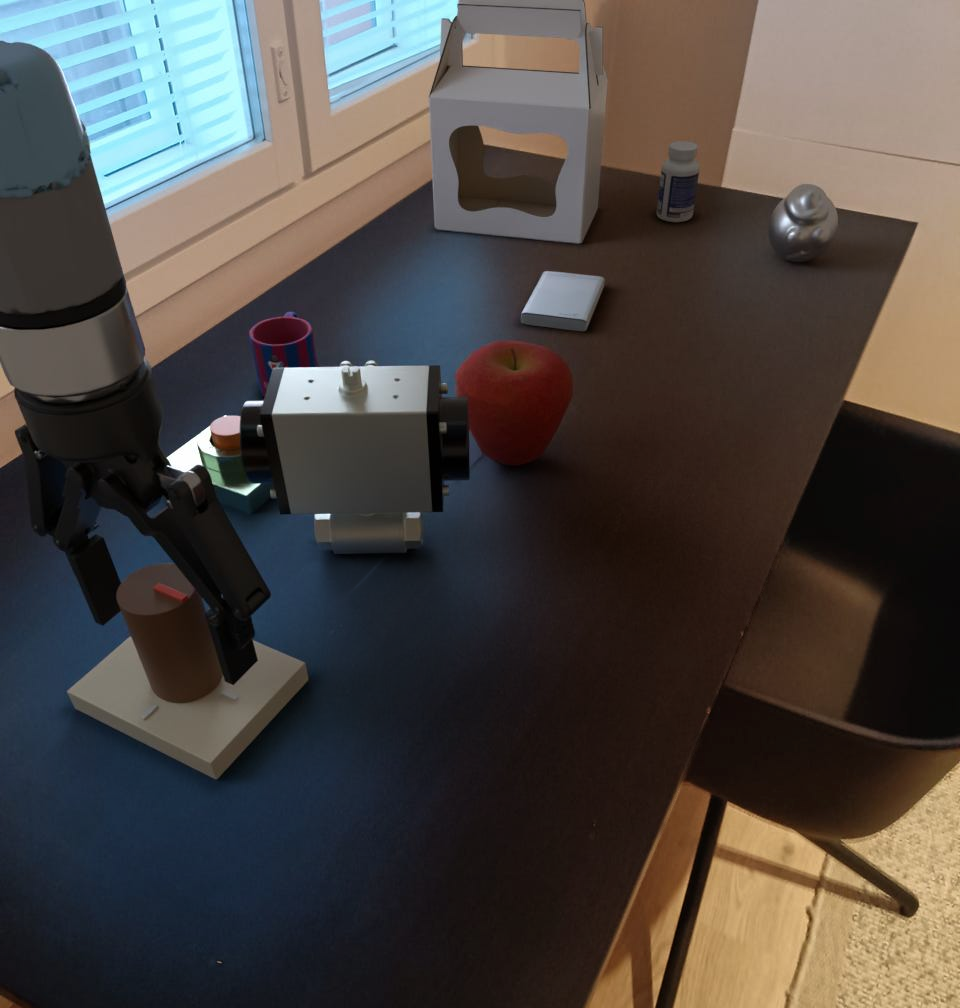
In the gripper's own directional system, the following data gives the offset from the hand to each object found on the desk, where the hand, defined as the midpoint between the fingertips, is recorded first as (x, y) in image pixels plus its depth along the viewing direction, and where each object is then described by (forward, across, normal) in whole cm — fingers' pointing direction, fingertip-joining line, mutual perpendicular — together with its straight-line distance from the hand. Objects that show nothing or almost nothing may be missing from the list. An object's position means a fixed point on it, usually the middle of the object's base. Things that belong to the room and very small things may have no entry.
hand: (175, 641), depth 68 cm
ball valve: (+6, -2, -22) cm, 23 cm away
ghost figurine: (+6, -19, -100) cm, 102 cm away
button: (+2, +16, -25) cm, 30 cm away
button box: (+6, +16, -25) cm, 30 cm away
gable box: (+6, +21, -95) cm, 97 cm away
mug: (+6, +22, -42) cm, 48 cm away
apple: (+6, -7, -40) cm, 41 cm away
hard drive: (+6, +3, -73) cm, 73 cm away
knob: (+4, 0, 0) cm, 4 cm away
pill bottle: (+6, +1, -107) cm, 107 cm away
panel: (+6, 0, 0) cm, 6 cm away
